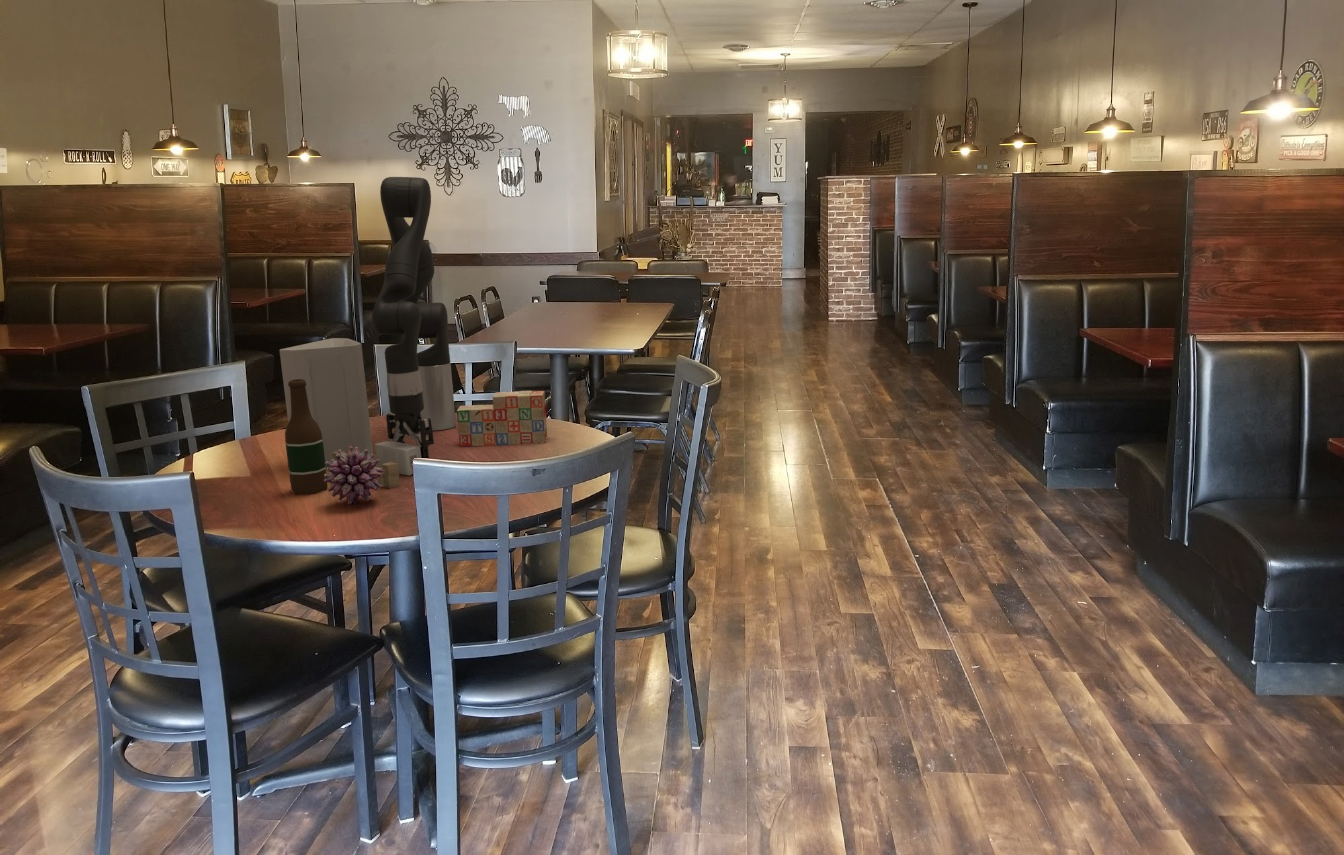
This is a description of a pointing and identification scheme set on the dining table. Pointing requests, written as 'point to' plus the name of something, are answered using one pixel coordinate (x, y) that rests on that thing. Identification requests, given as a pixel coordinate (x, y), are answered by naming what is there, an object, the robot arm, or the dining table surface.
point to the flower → (353, 475)
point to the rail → (384, 473)
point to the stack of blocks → (504, 420)
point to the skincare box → (397, 455)
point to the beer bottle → (304, 444)
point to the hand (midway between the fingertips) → (413, 460)
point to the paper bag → (332, 391)
